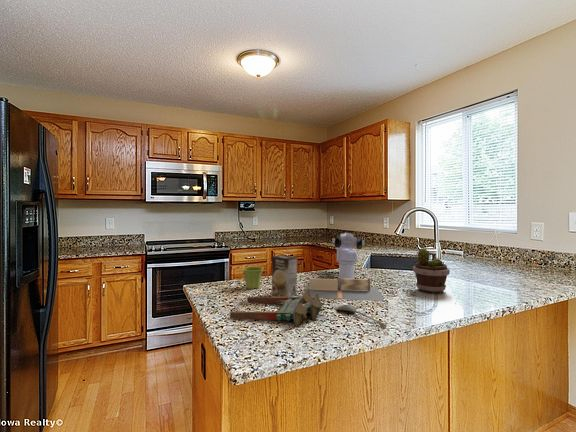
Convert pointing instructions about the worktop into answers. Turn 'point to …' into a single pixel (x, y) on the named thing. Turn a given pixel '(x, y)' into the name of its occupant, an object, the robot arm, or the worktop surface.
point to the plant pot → (252, 277)
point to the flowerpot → (430, 273)
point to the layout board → (340, 291)
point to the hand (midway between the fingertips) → (349, 243)
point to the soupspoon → (353, 309)
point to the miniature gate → (284, 308)
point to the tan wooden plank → (356, 284)
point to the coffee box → (284, 275)
